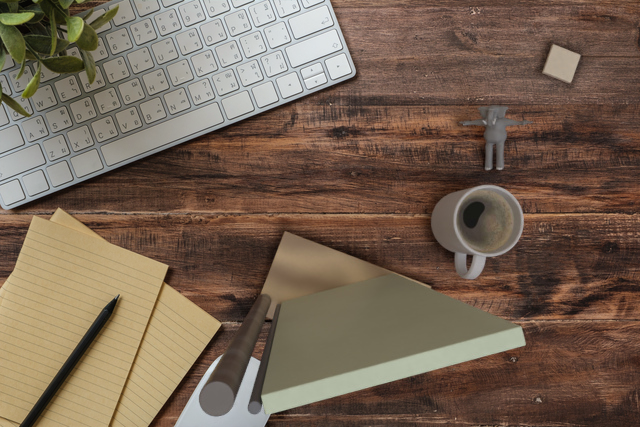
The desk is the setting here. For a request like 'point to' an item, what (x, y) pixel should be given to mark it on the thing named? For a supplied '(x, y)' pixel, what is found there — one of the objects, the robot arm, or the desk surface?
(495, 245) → the mug
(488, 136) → the elephant figurine
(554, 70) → the coaster
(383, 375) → the door
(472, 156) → the desk surface
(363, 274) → the door stand
